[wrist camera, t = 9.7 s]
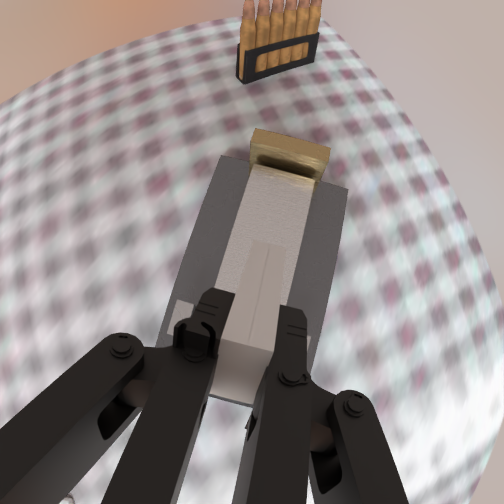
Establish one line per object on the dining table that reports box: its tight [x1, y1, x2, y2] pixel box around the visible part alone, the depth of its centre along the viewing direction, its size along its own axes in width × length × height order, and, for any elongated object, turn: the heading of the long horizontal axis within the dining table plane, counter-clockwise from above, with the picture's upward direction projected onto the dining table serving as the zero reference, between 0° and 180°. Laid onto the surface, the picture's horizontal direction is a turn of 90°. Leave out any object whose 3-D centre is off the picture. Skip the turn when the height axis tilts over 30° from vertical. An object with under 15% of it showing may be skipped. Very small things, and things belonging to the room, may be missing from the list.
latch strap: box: [214, 164, 315, 306], centre depth 23 cm, size 2×6×14 cm
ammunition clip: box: [236, 0, 322, 84], centre depth 29 cm, size 11×2×12 cm, turn 122°
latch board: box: [155, 128, 348, 408], centre depth 23 cm, size 20×12×6 cm, turn 165°
